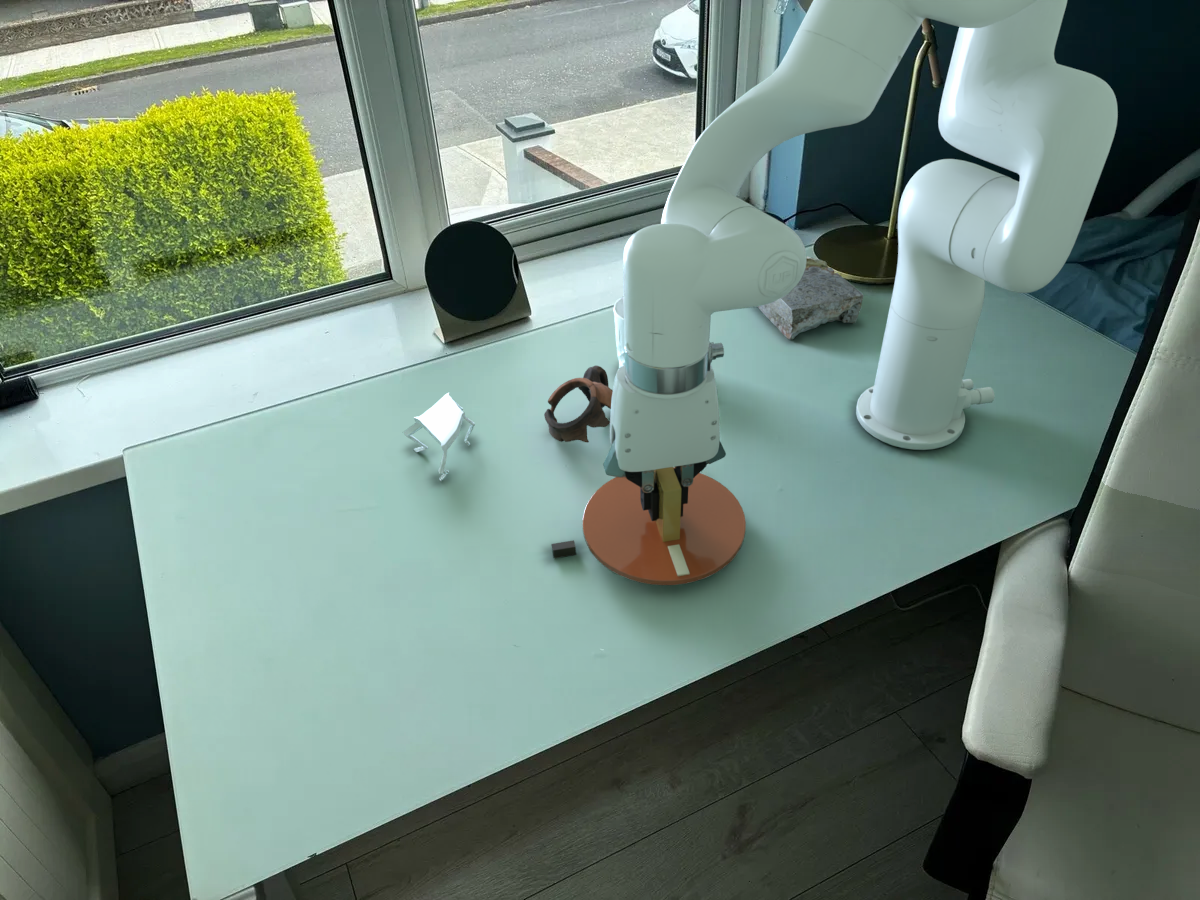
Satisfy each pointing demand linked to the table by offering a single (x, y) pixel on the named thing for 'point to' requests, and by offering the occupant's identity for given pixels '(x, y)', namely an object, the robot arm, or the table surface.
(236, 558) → the table surface
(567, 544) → the dark grey rectangular block
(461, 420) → the origami figure
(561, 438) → the pottery mug
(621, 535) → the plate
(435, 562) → the table surface
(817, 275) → the geological specimen
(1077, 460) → the table surface
